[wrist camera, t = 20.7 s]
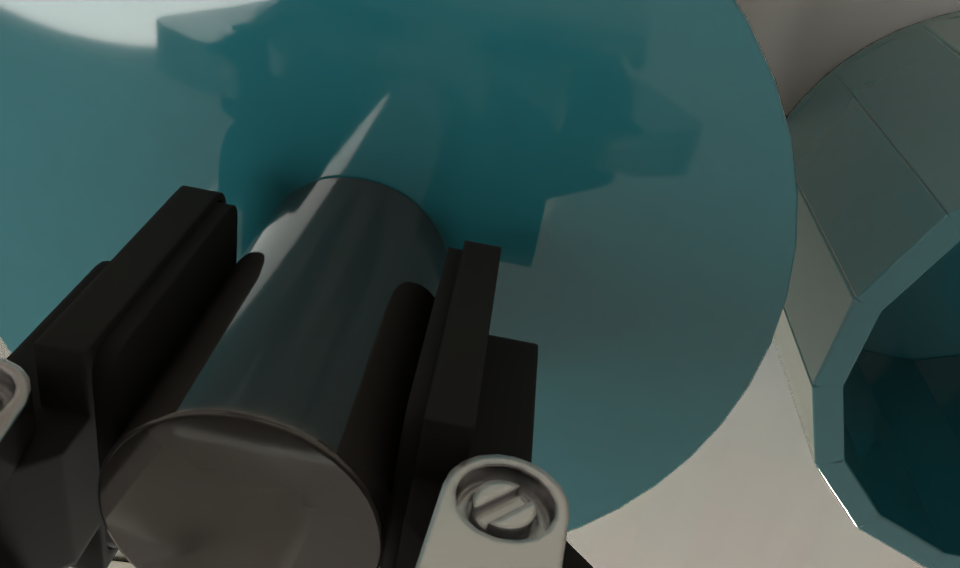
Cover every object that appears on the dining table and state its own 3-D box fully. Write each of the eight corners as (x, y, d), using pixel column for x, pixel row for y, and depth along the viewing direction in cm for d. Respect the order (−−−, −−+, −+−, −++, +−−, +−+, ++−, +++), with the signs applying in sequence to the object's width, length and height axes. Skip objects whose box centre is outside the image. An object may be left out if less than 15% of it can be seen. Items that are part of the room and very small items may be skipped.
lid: (19, 450, 18) (-235, 764, 12) (-97, -329, 11) (-814, -436, 5) (650, 571, 18) (687, 937, 12) (934, -122, 11) (1315, -10, 5)
